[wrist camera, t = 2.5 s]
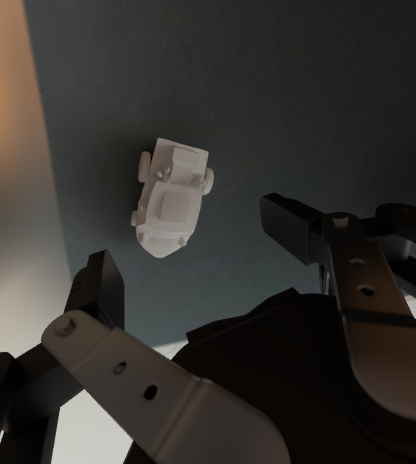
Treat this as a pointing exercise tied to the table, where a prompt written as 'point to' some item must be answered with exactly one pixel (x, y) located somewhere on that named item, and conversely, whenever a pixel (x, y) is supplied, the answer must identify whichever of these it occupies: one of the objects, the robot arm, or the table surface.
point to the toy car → (170, 196)
